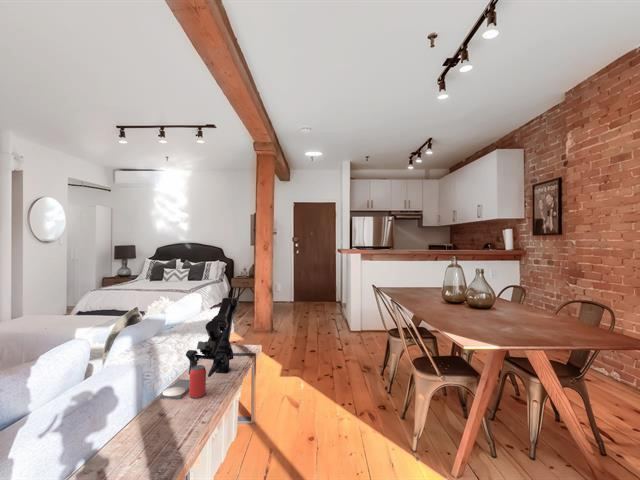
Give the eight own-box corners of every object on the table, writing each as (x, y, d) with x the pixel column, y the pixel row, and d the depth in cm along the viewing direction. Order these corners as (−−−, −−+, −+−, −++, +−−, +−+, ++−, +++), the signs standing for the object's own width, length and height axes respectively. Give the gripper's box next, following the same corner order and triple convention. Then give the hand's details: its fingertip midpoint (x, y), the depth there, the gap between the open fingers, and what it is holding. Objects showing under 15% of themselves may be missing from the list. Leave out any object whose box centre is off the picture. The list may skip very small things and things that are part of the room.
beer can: (195, 400, 140) (196, 370, 140) (185, 396, 144) (186, 367, 144) (208, 394, 146) (209, 366, 146) (198, 391, 149) (199, 363, 150)
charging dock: (178, 381, 159) (178, 378, 159) (197, 382, 159) (197, 379, 159) (158, 399, 140) (158, 395, 141) (179, 399, 140) (180, 396, 140)
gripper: (188, 331, 154) (171, 364, 142) (226, 334, 149) (211, 368, 138) (198, 345, 161) (182, 376, 150) (234, 348, 157) (221, 381, 145)
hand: (199, 375), depth 146 cm, fingers open, 9 cm apart
